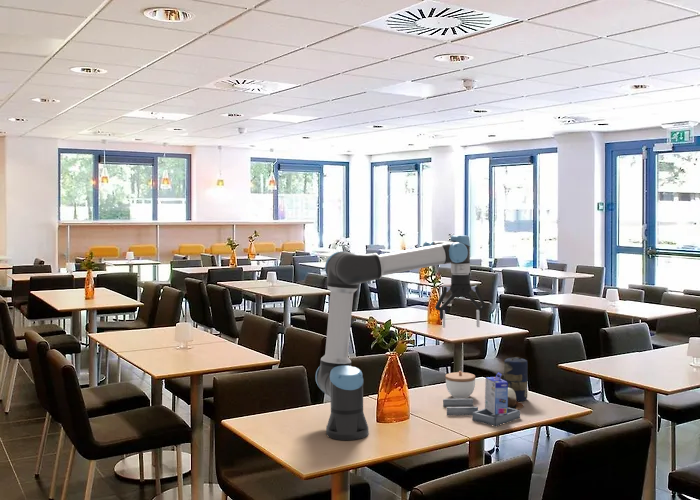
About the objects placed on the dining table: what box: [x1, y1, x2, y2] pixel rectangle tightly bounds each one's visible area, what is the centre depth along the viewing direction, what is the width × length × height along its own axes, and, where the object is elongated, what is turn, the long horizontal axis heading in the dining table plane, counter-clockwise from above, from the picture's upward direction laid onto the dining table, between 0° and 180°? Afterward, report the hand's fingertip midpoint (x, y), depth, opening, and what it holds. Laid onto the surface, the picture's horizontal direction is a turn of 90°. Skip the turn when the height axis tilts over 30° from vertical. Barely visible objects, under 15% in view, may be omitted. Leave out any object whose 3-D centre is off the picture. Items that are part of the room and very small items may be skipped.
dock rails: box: [442, 398, 479, 416], centre depth 276 cm, size 12×13×3 cm
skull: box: [508, 388, 524, 410], centre depth 281 cm, size 12×10×10 cm
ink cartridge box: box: [484, 372, 508, 415], centre depth 263 cm, size 10×6×14 cm, turn 12°
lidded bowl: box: [444, 370, 476, 399], centre depth 296 cm, size 13×13×11 cm
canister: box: [503, 356, 529, 402], centre depth 290 cm, size 10×10×18 cm
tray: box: [471, 407, 521, 427], centre depth 263 cm, size 11×15×3 cm
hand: (460, 327), depth 278 cm, fingers open, 13 cm apart
